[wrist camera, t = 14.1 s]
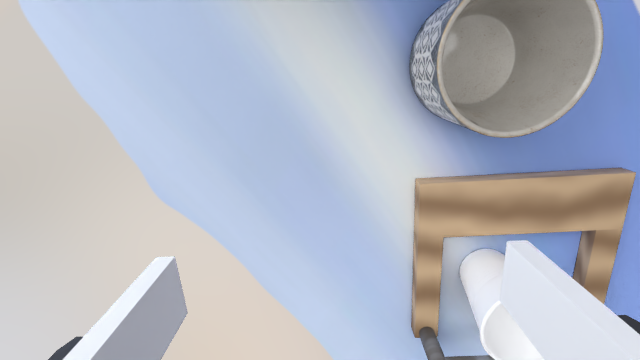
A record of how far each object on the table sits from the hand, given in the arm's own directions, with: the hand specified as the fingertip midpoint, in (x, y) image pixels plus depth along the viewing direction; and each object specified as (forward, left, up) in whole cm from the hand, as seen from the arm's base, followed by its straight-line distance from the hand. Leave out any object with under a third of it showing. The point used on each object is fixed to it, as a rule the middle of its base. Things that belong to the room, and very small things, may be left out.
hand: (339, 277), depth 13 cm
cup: (+18, +19, -27) cm, 37 cm away
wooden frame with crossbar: (+16, +22, -27) cm, 38 cm away
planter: (-8, +15, -27) cm, 32 cm away
